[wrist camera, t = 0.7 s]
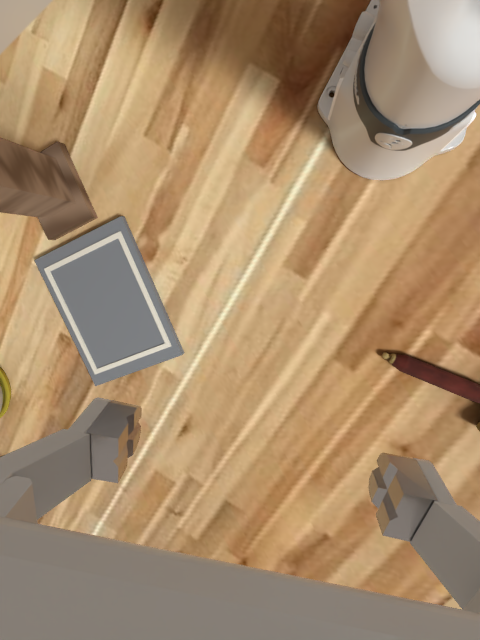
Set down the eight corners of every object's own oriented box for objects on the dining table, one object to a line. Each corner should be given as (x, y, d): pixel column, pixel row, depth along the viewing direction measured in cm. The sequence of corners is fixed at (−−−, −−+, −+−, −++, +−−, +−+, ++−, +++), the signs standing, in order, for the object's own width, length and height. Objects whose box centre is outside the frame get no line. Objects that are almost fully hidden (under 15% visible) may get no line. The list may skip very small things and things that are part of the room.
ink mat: (184, 352, 54) (181, 355, 53) (98, 383, 58) (94, 386, 57) (124, 216, 51) (120, 215, 50) (39, 260, 55) (33, 260, 54)
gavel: (369, 388, 47) (401, 327, 44) (365, 377, 51) (394, 321, 48) (519, 453, 43) (563, 391, 41) (501, 435, 48) (540, 378, 45)
